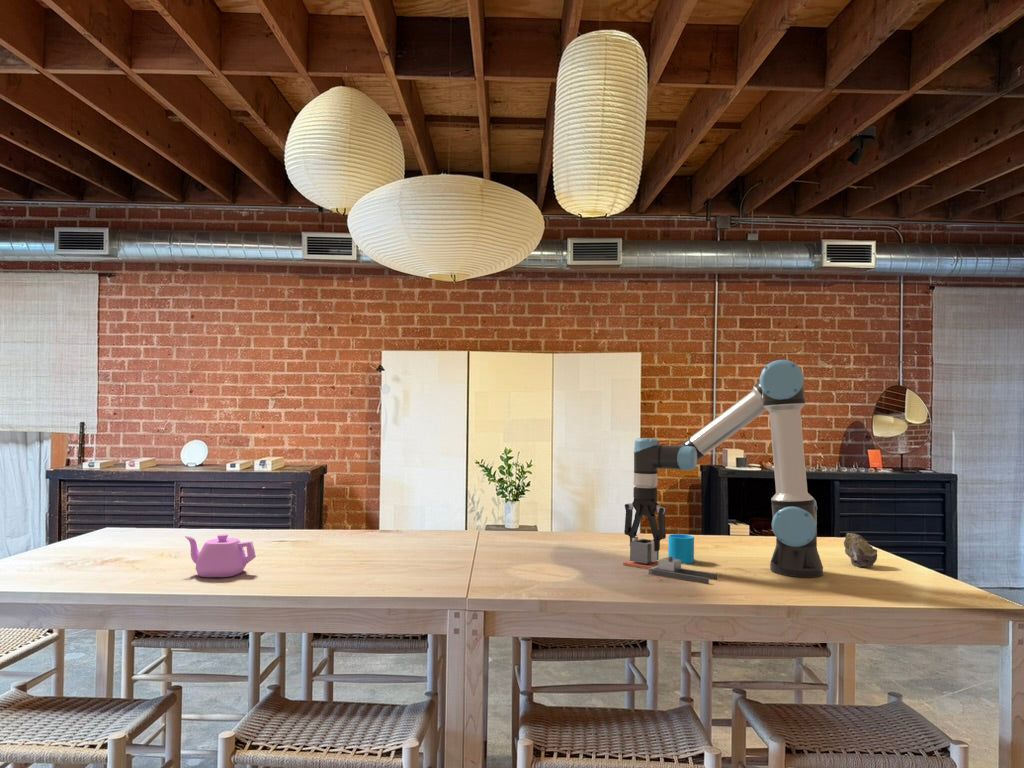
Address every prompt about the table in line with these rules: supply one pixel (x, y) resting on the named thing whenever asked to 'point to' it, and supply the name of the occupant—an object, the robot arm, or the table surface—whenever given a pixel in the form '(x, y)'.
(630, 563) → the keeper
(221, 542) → the teapot
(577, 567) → the table surface
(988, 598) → the table surface
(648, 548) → the grey hollow block
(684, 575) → the track
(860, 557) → the rock
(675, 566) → the grey knobbed block
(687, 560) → the mug
